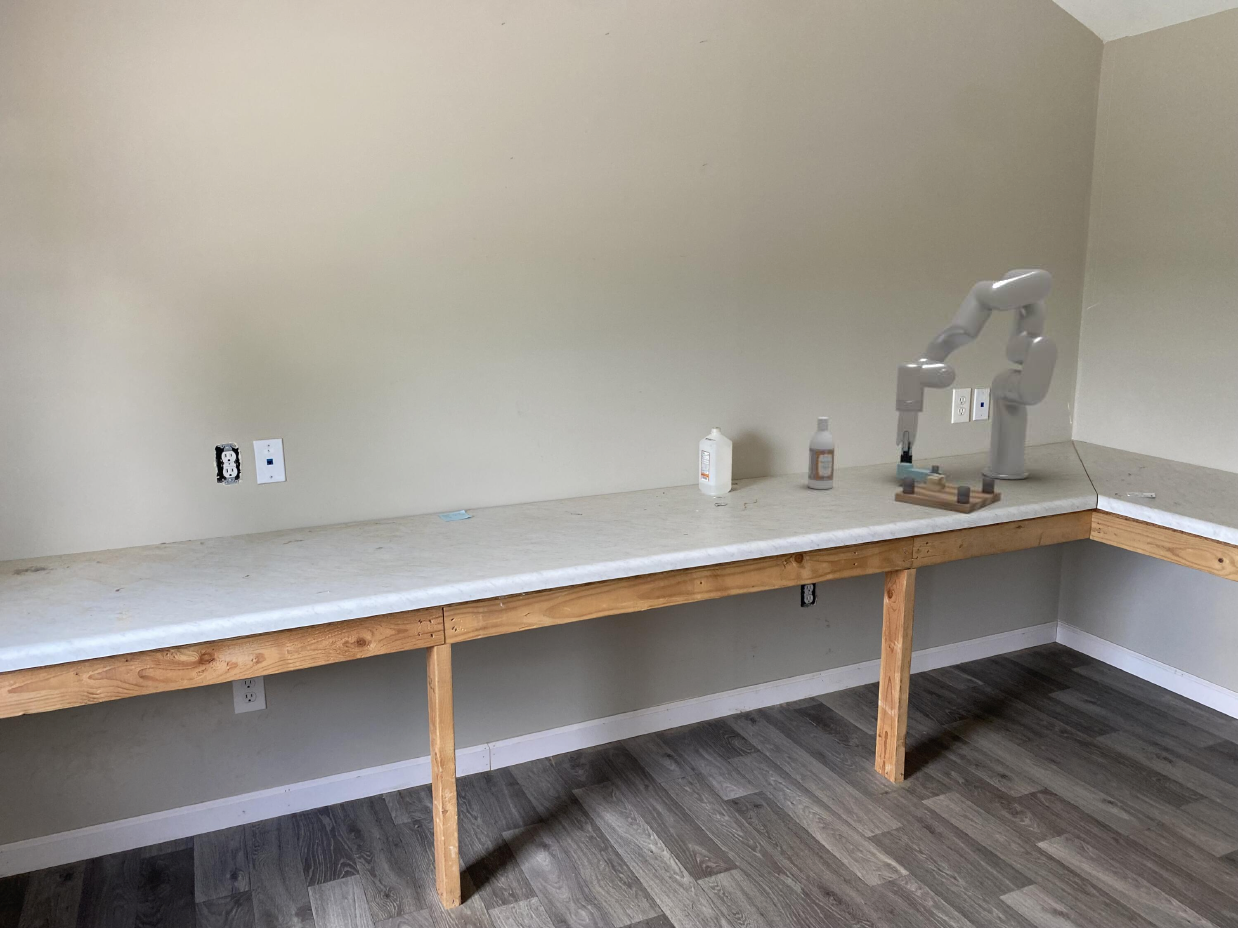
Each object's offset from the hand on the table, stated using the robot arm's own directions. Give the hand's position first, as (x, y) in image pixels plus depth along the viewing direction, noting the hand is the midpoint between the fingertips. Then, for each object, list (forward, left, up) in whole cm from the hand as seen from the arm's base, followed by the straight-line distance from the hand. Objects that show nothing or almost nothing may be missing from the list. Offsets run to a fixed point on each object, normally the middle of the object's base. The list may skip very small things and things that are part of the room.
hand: (905, 468), depth 266 cm
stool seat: (+14, +20, -4) cm, 24 cm away
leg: (+6, +7, -1) cm, 10 cm away
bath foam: (+24, -13, -4) cm, 28 cm away
